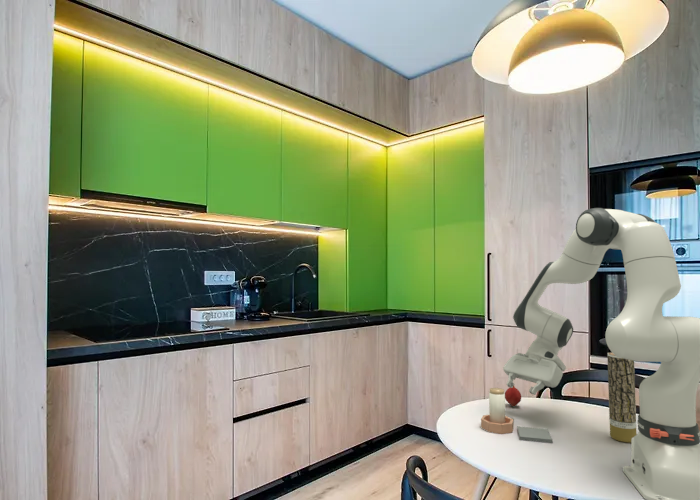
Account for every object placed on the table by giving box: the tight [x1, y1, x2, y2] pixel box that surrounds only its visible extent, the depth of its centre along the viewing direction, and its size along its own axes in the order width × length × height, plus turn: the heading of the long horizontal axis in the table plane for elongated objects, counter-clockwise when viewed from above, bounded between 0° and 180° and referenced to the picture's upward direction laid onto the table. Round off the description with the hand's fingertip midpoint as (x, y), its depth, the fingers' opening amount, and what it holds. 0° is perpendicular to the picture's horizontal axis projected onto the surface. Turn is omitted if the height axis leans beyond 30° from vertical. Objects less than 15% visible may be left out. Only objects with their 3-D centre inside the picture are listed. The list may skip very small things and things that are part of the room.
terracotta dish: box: [480, 414, 515, 435], centre depth 139 cm, size 9×9×3 cm
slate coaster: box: [516, 426, 554, 444], centre depth 133 cm, size 9×9×1 cm
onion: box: [504, 385, 522, 407], centre depth 162 cm, size 6×6×8 cm
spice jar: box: [488, 387, 506, 424], centre depth 140 cm, size 5×5×11 cm
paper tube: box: [606, 352, 638, 444], centre depth 131 cm, size 7×7×25 cm
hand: (520, 389), depth 145 cm, fingers open, 8 cm apart
